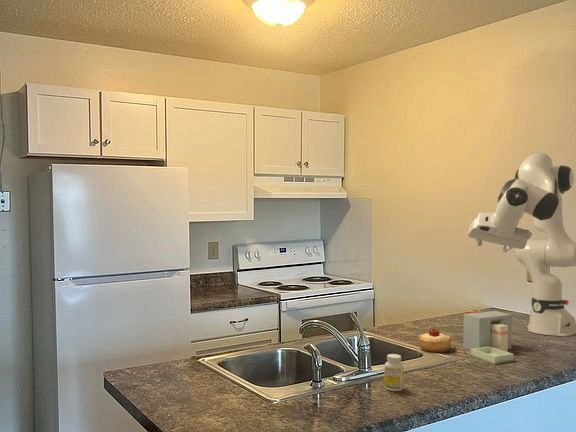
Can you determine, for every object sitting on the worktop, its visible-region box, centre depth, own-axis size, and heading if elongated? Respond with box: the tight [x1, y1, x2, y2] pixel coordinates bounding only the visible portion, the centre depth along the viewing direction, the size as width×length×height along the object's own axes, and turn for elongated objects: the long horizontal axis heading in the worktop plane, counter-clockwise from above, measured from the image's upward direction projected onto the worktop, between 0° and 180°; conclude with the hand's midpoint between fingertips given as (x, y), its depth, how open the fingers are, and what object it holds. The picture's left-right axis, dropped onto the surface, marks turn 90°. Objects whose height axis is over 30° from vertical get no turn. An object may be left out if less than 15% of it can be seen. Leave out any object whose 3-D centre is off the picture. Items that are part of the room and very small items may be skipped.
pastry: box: [418, 325, 452, 353], centre depth 201 cm, size 12×12×9 cm
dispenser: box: [462, 310, 513, 351], centre depth 203 cm, size 16×8×13 cm, turn 115°
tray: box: [470, 346, 515, 365], centre depth 189 cm, size 9×11×2 cm
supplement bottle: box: [384, 353, 404, 392], centre depth 158 cm, size 5×5×10 cm
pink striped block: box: [490, 322, 509, 352], centre depth 198 cm, size 4×6×10 cm, turn 25°
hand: (491, 247), depth 201 cm, fingers open, 8 cm apart
